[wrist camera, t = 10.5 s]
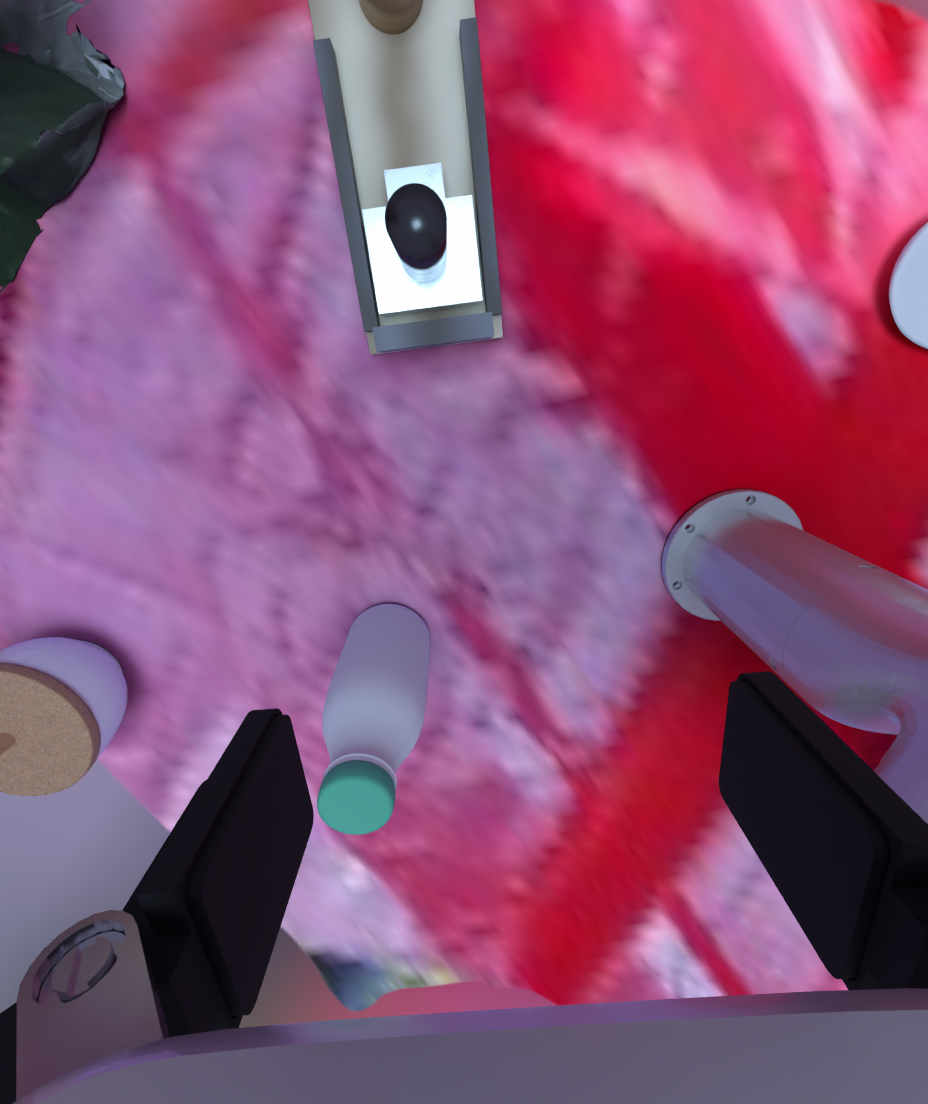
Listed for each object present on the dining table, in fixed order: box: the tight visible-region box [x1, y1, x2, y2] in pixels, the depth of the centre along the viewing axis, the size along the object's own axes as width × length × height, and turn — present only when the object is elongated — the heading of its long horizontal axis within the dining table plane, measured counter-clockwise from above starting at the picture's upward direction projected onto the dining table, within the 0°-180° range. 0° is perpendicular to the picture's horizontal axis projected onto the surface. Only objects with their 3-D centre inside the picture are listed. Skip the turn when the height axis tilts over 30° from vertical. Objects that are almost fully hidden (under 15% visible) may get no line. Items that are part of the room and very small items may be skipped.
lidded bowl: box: [0, 637, 128, 796], centre depth 44 cm, size 13×13×11 cm
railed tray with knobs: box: [308, 0, 503, 355], centre depth 32 cm, size 10×25×6 cm, turn 7°
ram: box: [362, 163, 482, 317], centre depth 30 cm, size 7×8×12 cm
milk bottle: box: [317, 604, 430, 835], centre depth 39 cm, size 8×8×20 cm
